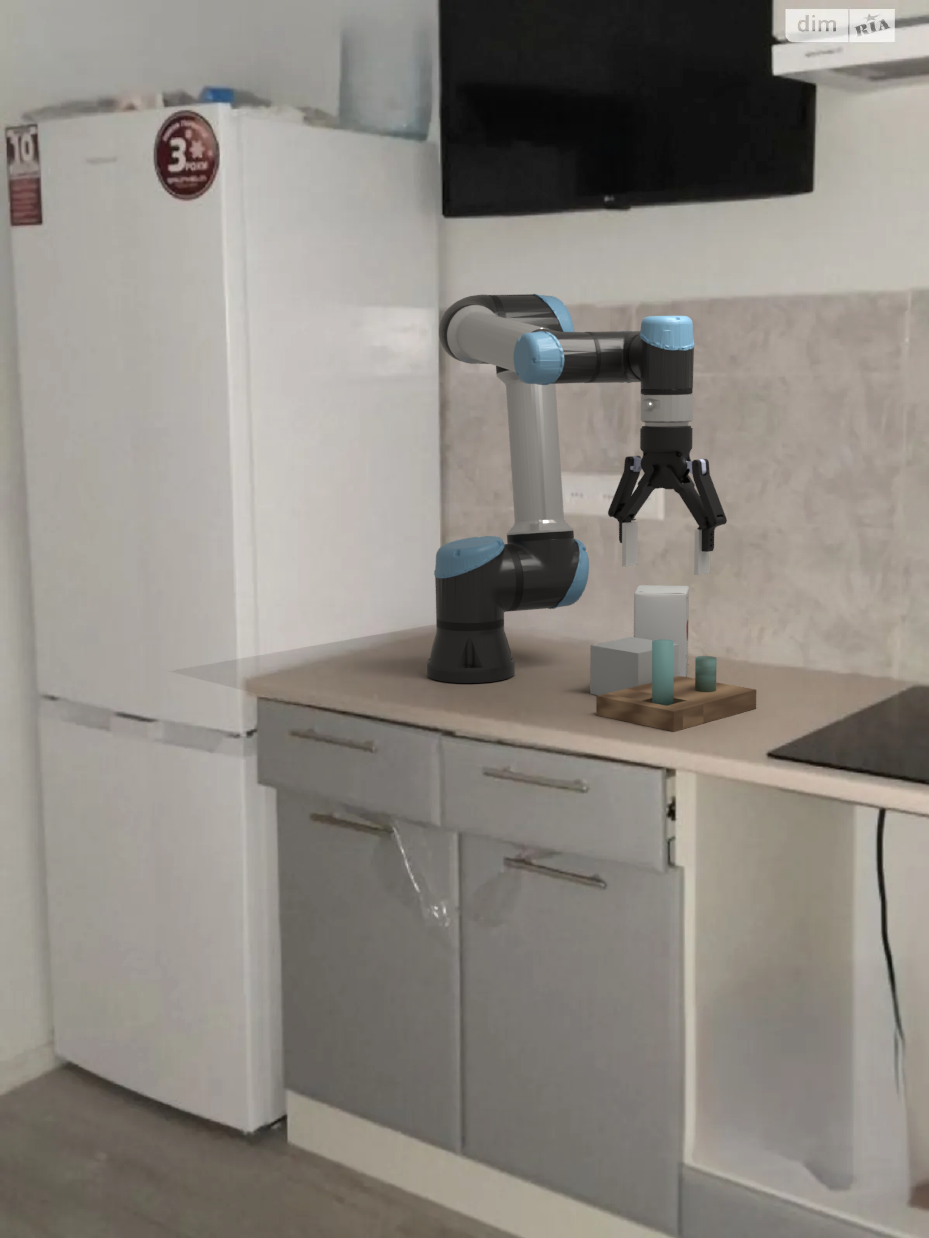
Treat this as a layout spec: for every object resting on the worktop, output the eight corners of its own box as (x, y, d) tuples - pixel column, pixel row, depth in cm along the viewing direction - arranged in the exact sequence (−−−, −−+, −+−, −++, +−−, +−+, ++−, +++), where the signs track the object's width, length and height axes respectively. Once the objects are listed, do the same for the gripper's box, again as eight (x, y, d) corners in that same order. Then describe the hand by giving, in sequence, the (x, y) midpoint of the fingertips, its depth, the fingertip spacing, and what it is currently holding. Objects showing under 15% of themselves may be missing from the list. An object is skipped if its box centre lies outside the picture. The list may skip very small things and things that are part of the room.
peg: (647, 720, 228) (647, 641, 226) (660, 716, 230) (661, 638, 228) (664, 723, 226) (664, 644, 224) (677, 719, 228) (678, 641, 226)
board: (596, 715, 232) (596, 663, 230) (679, 693, 245) (679, 645, 244) (673, 731, 221) (674, 677, 219) (756, 708, 234) (757, 657, 233)
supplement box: (686, 681, 254) (687, 593, 252) (632, 680, 256) (632, 592, 254) (689, 670, 263) (690, 584, 261) (637, 669, 265) (637, 584, 262)
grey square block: (590, 693, 246) (590, 645, 245) (630, 684, 253) (630, 636, 252) (638, 703, 239) (638, 653, 238) (678, 693, 246) (678, 644, 244)
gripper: (584, 423, 227) (584, 564, 230) (720, 427, 209) (717, 580, 212) (618, 421, 232) (617, 559, 235) (752, 425, 214) (750, 574, 217)
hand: (665, 569), depth 224 cm, fingers open, 13 cm apart
